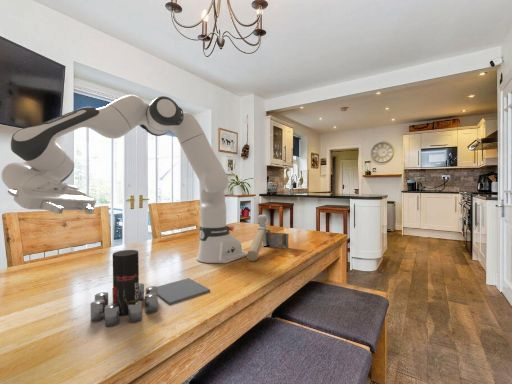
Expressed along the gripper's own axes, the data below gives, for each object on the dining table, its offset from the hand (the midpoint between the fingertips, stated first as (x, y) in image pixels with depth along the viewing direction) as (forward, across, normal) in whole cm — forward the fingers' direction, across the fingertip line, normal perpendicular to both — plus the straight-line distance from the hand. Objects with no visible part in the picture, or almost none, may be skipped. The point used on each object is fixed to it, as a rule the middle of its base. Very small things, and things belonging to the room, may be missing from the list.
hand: (76, 211), depth 75 cm
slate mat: (+31, +16, +12) cm, 37 cm away
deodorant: (+26, +1, +16) cm, 31 cm away
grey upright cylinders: (+26, +1, +16) cm, 31 cm away
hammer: (+39, +65, +3) cm, 76 cm away
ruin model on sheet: (+44, +78, -1) cm, 89 cm away
